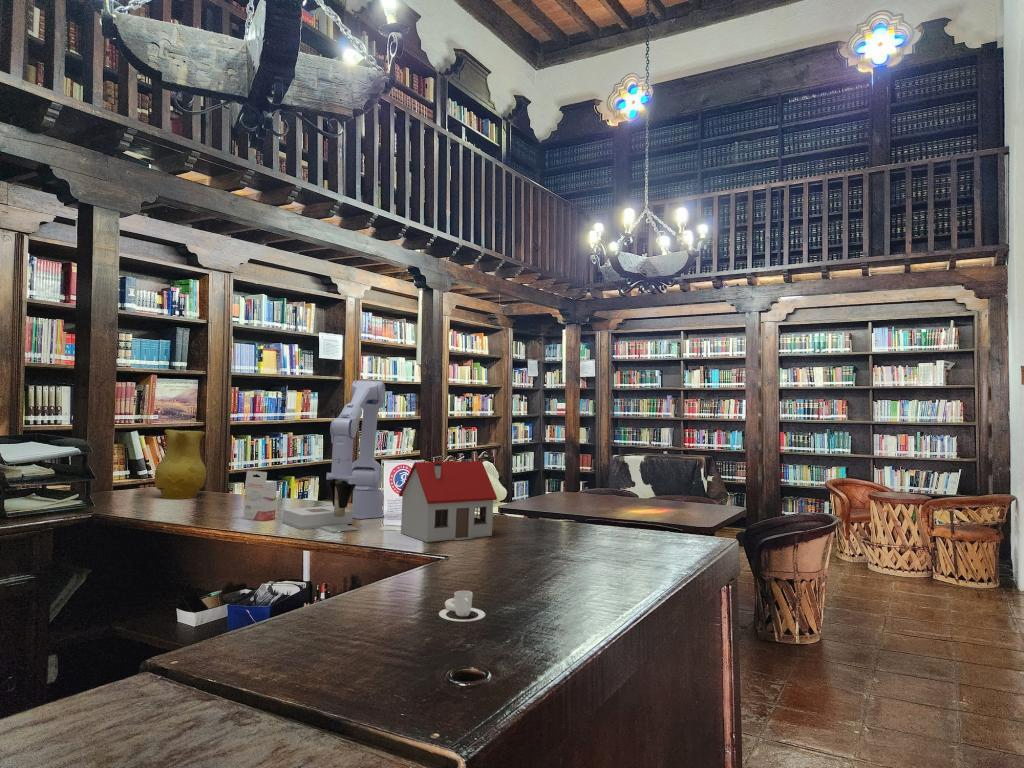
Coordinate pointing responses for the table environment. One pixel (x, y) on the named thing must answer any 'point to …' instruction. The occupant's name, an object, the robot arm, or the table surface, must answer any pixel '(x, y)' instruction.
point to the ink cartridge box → (259, 497)
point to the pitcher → (181, 466)
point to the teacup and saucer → (461, 606)
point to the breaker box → (315, 517)
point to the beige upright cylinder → (338, 511)
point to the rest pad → (338, 528)
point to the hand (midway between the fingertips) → (339, 507)
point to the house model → (447, 501)
